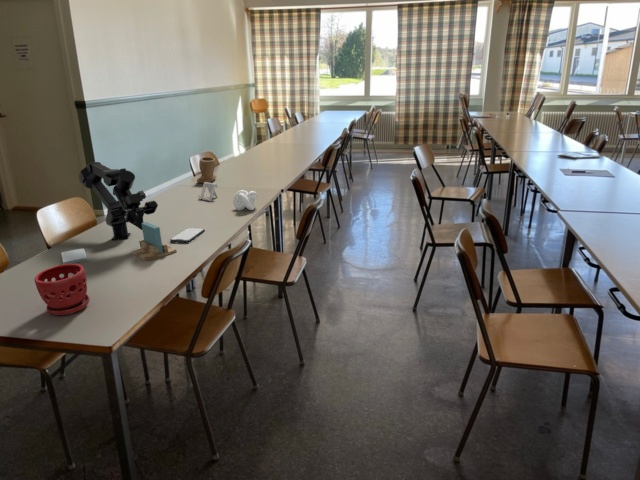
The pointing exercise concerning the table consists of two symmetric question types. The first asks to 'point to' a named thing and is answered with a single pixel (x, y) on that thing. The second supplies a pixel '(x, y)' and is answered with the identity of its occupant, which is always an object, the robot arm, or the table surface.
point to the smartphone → (187, 235)
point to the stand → (152, 251)
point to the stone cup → (206, 169)
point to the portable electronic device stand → (211, 190)
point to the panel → (152, 235)
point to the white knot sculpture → (244, 199)
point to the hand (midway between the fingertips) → (143, 229)
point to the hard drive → (73, 256)
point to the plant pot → (63, 289)
